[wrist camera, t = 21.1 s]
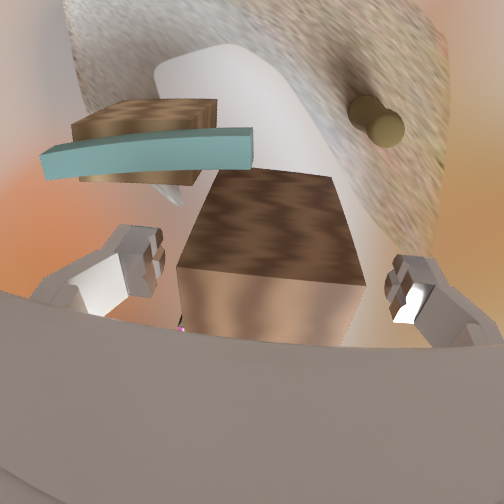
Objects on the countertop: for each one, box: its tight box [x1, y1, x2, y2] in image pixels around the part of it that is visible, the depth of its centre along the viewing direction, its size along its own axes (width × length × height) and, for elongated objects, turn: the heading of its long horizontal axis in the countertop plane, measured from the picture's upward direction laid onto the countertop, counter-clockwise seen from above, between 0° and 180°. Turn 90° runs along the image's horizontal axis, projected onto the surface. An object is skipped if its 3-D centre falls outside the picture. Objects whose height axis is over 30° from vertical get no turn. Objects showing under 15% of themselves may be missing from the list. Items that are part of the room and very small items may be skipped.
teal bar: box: [39, 128, 253, 180], centre depth 31 cm, size 26×4×4 cm, turn 91°
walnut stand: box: [176, 168, 366, 347], centre depth 42 cm, size 18×12×26 cm, turn 86°
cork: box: [348, 95, 405, 148], centre depth 37 cm, size 6×6×11 cm
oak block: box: [71, 99, 217, 186], centre depth 39 cm, size 16×8×15 cm, turn 86°
